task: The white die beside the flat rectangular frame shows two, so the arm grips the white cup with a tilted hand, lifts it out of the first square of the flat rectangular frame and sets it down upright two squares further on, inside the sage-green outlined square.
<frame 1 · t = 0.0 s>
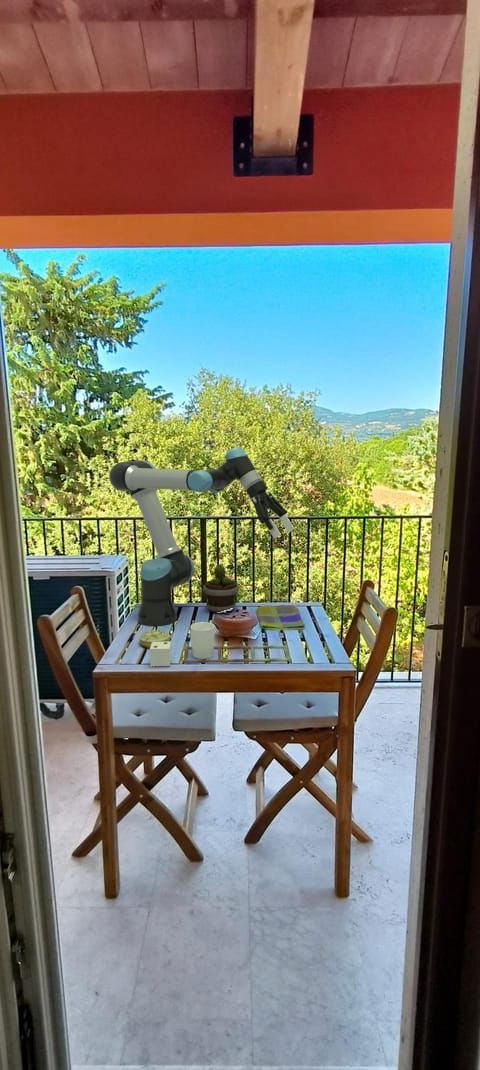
hand: (284, 533, 195), 36 cm above the table, tool tilted 35°, fingers open, 13 cm apart
flat rectangular frame: (236, 654, 176), on the table
white cup: (203, 655, 176), resting in flat rectangular frame
dish towel: (279, 620, 212), on the table
flowerpot: (221, 610, 223), on the table
white die: (161, 663, 170), on the table
decorated donut: (154, 644, 186), on the table
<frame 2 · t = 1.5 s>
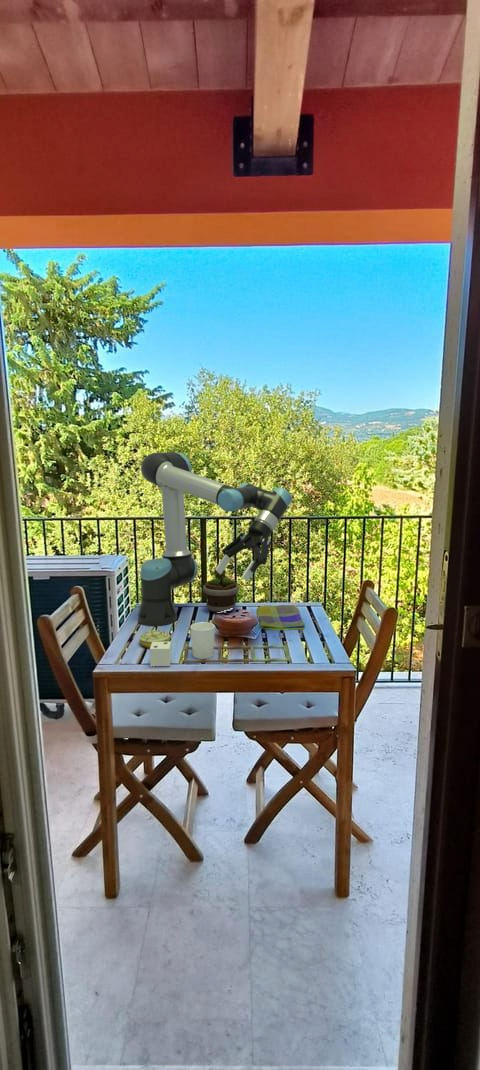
hand: (231, 575, 180), 25 cm above the table, tool tilted 45°, fingers open, 13 cm apart
nothing on the table moved.
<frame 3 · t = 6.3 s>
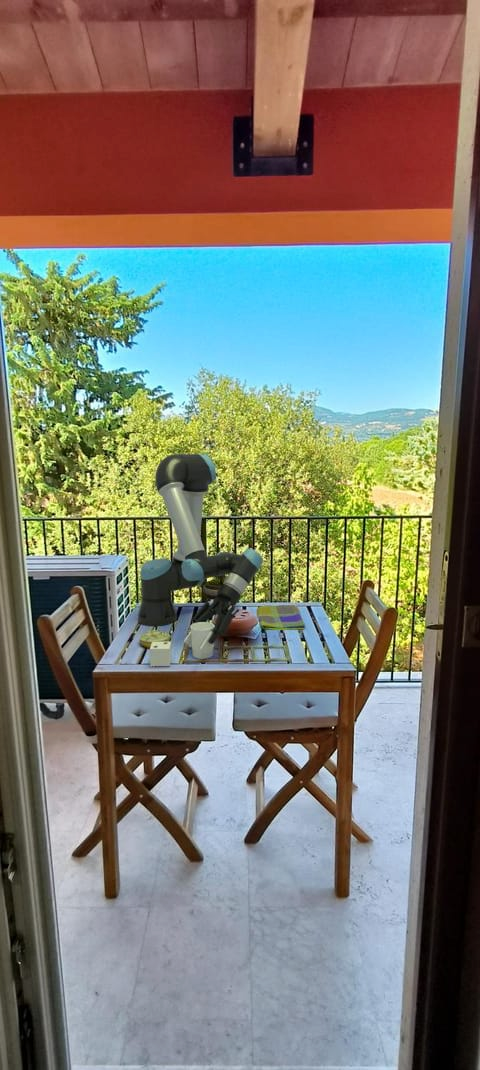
hand: (194, 647, 173), 4 cm above the table, tool tilted 45°, fingers closed on white cup, 8 cm apart
white cup: (203, 655, 176), resting in flat rectangular frame, touching gripper
everything else where it was.
when the fingers open (5 cm above the table, at t = 12.2 s): white cup drops 1 cm, resting in flat rectangular frame.
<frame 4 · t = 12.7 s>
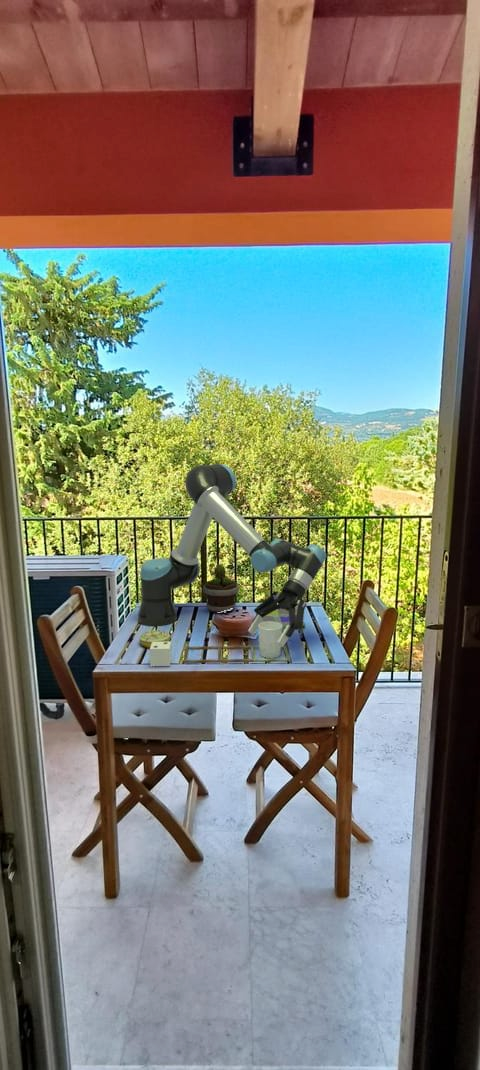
hand: (265, 638, 174), 6 cm above the table, tool tilted 45°, fingers open, 13 cm apart
white cup: (270, 654, 177), resting in flat rectangular frame
everything else where it was.
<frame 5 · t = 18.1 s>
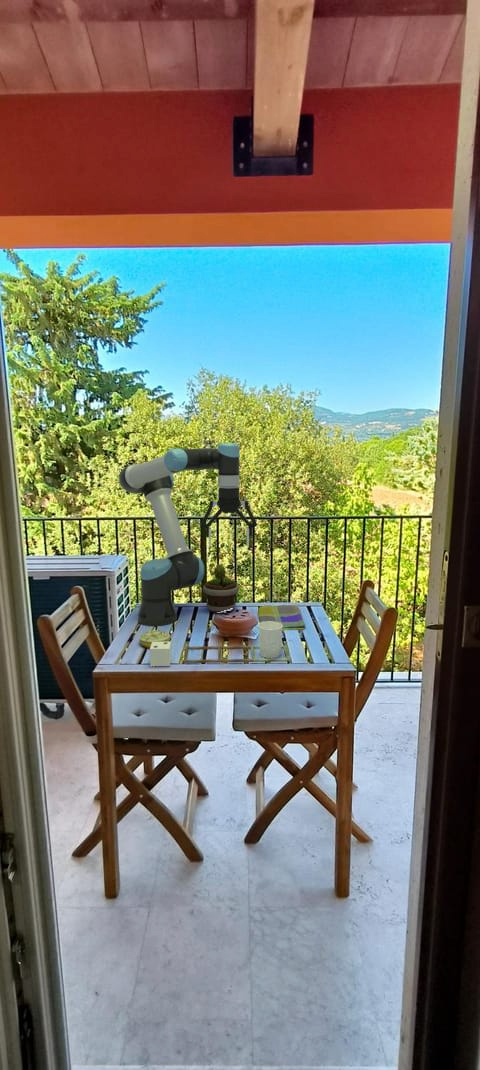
hand: (228, 545, 194), 32 cm above the table, tool pointing down, fingers open, 13 cm apart
nothing on the table moved.
at the end: white cup inside the target area on the flat rectangular frame (0.1 cm from its centre), point 0.0 cm above the flat rectangular frame's base; white cup tilted 0°; the gripper is holding nothing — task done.
